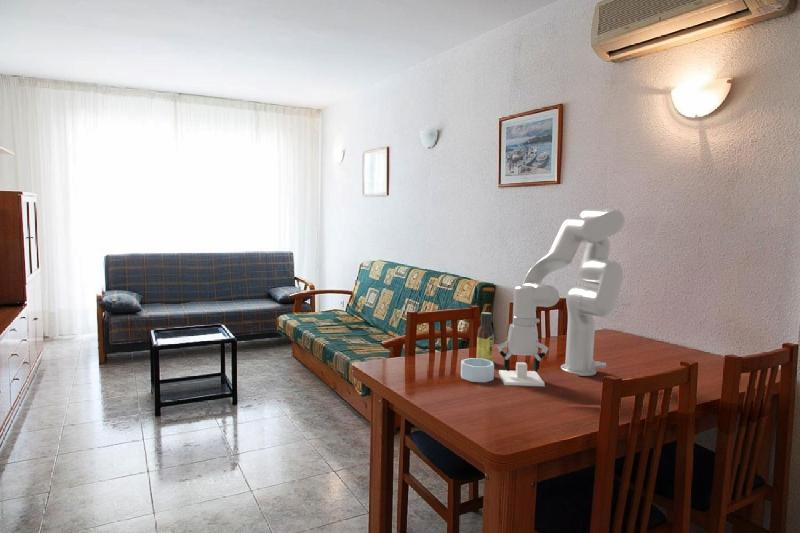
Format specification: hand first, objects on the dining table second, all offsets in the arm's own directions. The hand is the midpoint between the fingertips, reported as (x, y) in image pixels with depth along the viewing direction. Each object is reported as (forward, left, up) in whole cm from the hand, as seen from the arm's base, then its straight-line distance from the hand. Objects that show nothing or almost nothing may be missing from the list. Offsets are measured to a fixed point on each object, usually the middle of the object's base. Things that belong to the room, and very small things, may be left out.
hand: (521, 370), depth 182 cm
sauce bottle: (+10, -19, -4) cm, 22 cm away
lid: (0, 0, -3) cm, 3 cm away
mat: (0, 0, -4) cm, 4 cm away
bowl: (+15, -1, -4) cm, 16 cm away
